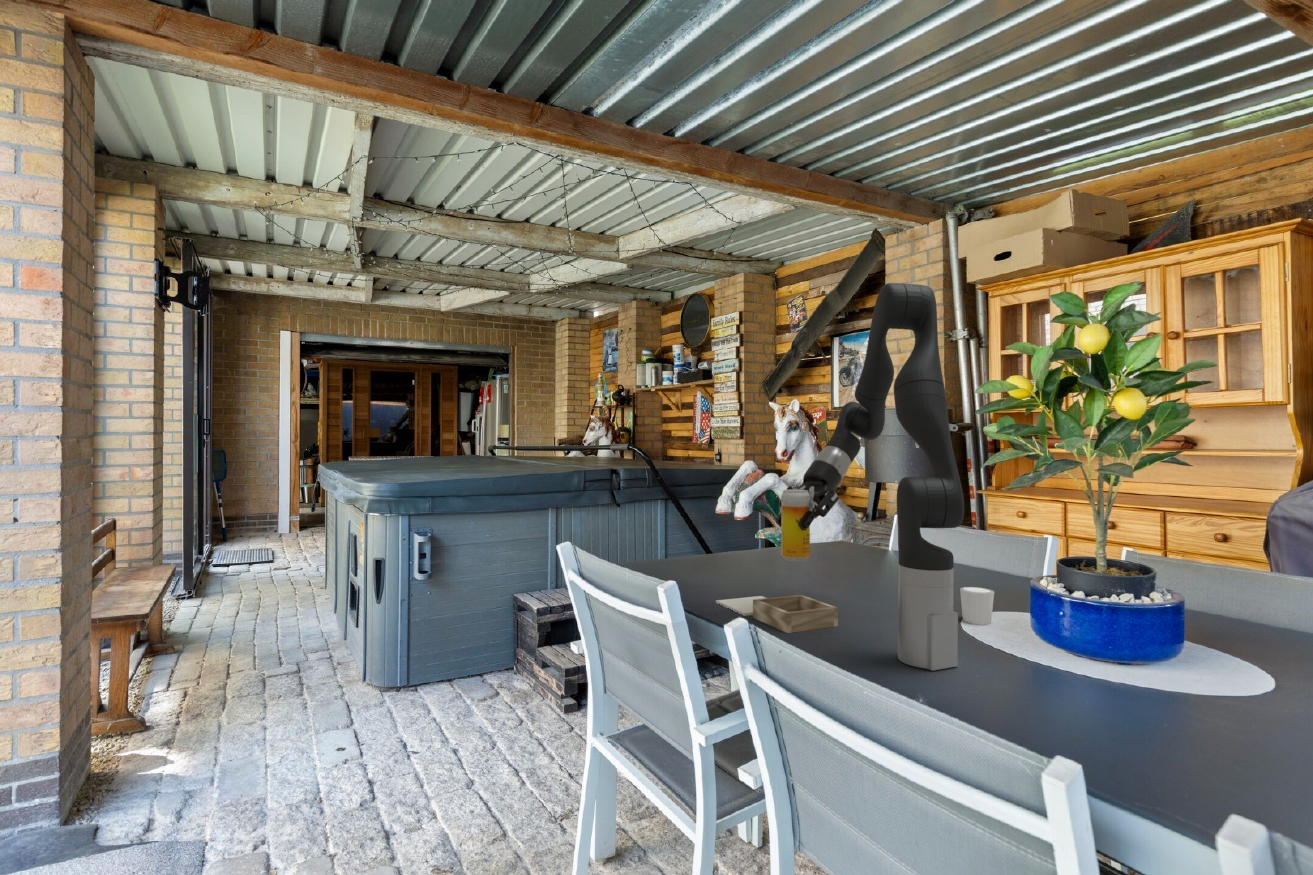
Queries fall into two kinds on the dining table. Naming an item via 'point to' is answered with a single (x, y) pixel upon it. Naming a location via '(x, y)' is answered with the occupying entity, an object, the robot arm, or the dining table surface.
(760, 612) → the crate
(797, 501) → the beer can
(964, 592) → the white cup
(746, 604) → the mat
